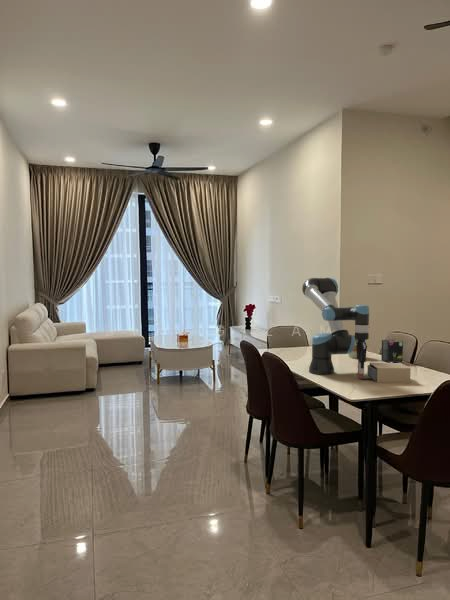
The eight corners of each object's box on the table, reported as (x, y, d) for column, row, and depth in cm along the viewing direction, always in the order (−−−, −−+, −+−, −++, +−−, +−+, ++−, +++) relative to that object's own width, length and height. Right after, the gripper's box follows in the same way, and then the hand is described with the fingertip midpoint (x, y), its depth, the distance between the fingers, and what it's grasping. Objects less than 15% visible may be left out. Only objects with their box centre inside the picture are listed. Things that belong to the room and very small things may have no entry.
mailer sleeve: (377, 382, 245) (377, 368, 244) (369, 376, 260) (369, 362, 259) (410, 382, 244) (410, 368, 244) (400, 376, 259) (400, 362, 259)
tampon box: (389, 363, 298) (389, 341, 297) (380, 360, 307) (381, 339, 306) (403, 362, 301) (403, 341, 300) (394, 359, 310) (394, 339, 309)
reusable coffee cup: (362, 355, 326) (362, 335, 325) (365, 358, 314) (366, 337, 313) (344, 355, 328) (345, 335, 327) (347, 358, 315) (348, 337, 314)
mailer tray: (361, 380, 246) (361, 362, 246) (355, 375, 258) (355, 358, 258) (404, 380, 245) (405, 362, 245) (396, 375, 258) (397, 358, 257)
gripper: (372, 333, 243) (371, 376, 245) (364, 330, 258) (363, 370, 259) (358, 333, 244) (357, 376, 245) (351, 330, 258) (351, 370, 259)
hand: (361, 373), depth 252 cm, fingers closed on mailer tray, 2 cm apart
